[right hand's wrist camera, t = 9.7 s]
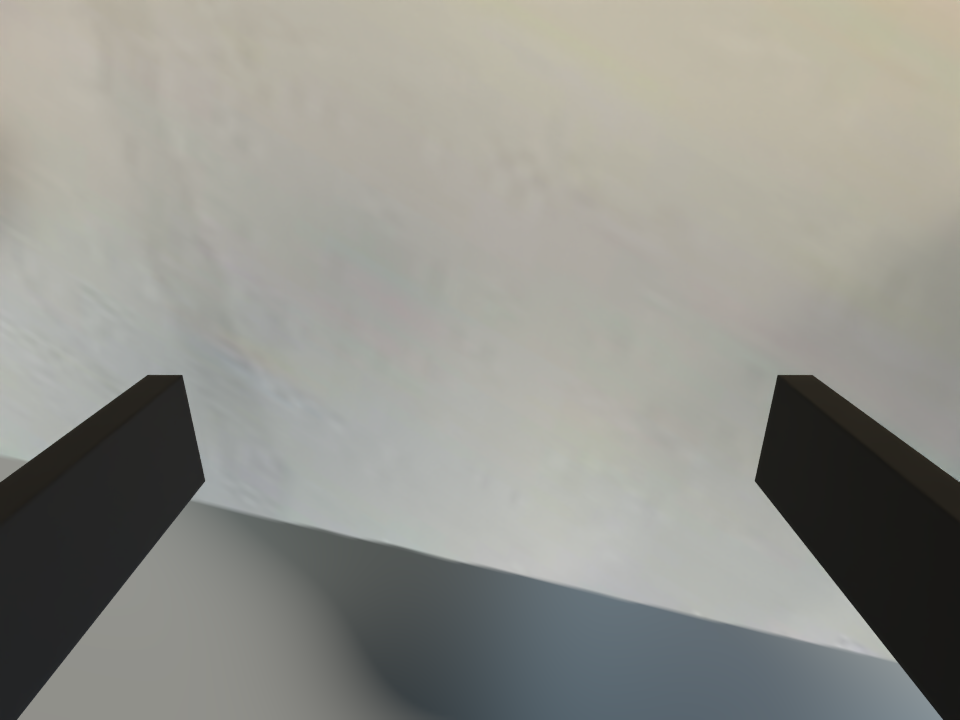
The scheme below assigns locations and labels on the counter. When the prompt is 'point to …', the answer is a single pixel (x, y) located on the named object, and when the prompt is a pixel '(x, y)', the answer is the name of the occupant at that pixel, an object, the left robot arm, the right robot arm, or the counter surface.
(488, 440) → the counter surface
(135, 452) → the right robot arm
